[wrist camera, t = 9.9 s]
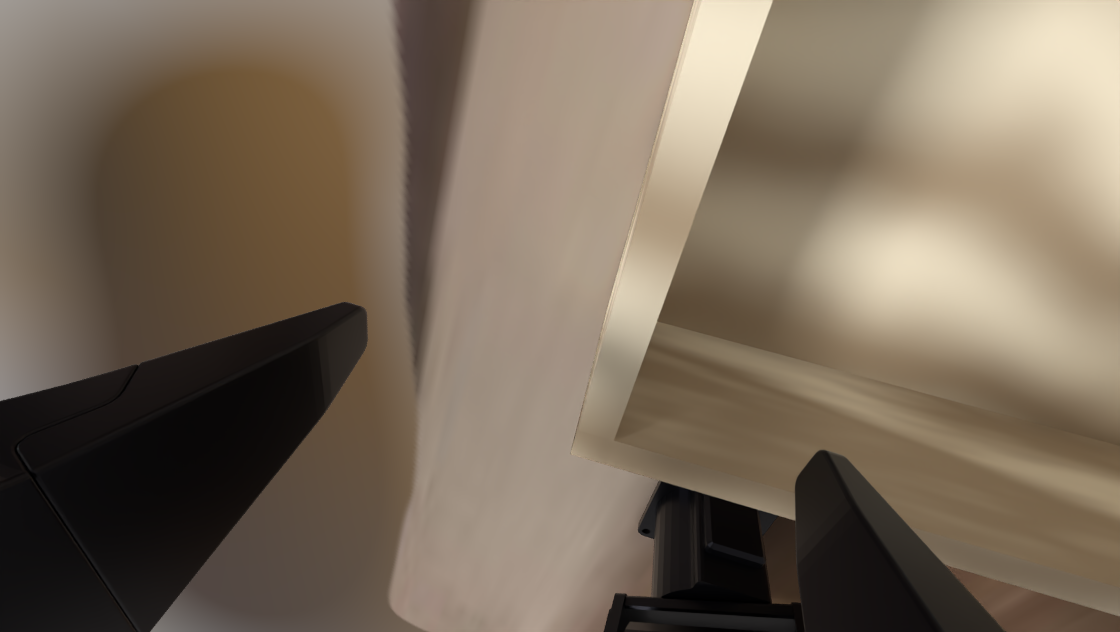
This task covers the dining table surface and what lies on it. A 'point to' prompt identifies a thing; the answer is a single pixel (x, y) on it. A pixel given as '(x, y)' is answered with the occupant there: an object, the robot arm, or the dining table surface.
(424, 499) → the dining table surface
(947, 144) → the birch crate
